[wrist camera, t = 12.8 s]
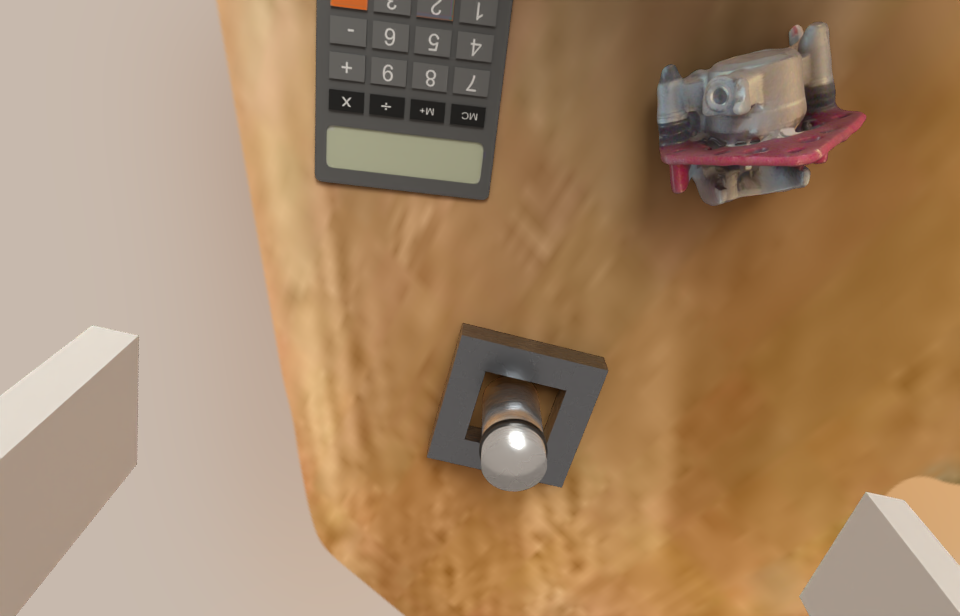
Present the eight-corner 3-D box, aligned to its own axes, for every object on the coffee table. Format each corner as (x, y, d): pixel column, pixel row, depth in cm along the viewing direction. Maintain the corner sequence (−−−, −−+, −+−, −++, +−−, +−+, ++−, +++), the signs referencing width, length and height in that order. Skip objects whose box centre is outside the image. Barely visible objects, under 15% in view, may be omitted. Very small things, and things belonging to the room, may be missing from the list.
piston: (489, 367, 48) (489, 428, 41) (548, 382, 49) (558, 445, 42) (473, 417, 50) (470, 484, 43) (530, 430, 51) (536, 499, 43)
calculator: (519, -52, 37) (488, 201, 43) (518, -51, 38) (488, 197, 44) (316, -79, 36) (314, 181, 42) (320, -77, 37) (317, 178, 43)
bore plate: (462, 323, 47) (461, 334, 45) (603, 357, 48) (608, 370, 46) (428, 442, 51) (426, 457, 49) (559, 471, 52) (561, 487, 50)
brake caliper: (663, 253, 42) (698, 178, 31) (625, 108, 45) (643, -12, 33) (839, 216, 41) (944, 122, 29) (789, 69, 44) (867, -69, 32)
